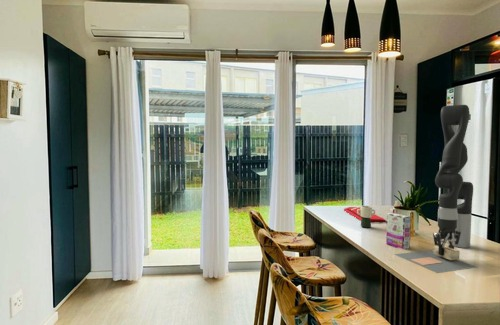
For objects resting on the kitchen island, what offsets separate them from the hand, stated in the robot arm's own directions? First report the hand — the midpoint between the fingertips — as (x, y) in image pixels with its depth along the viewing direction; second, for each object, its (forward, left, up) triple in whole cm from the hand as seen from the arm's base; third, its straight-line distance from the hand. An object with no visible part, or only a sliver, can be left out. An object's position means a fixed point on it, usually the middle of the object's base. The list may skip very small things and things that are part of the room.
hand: (446, 254), depth 151 cm
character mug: (-62, +4, -3) cm, 62 cm away
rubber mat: (0, -7, -3) cm, 8 cm away
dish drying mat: (-90, +23, -3) cm, 92 cm away
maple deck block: (0, 0, -1) cm, 1 cm away
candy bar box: (-23, -6, -3) cm, 24 cm away
